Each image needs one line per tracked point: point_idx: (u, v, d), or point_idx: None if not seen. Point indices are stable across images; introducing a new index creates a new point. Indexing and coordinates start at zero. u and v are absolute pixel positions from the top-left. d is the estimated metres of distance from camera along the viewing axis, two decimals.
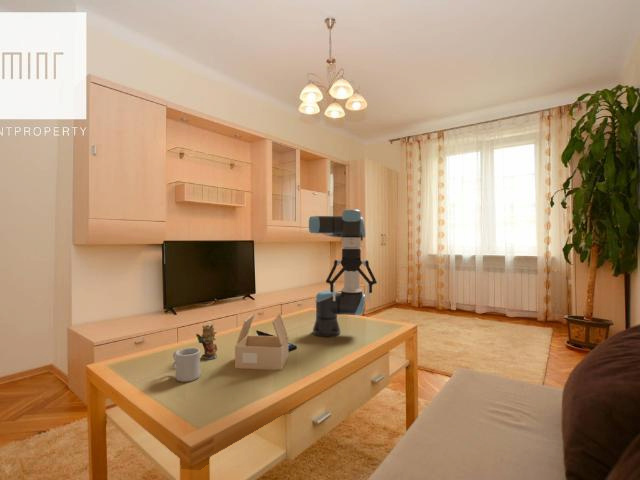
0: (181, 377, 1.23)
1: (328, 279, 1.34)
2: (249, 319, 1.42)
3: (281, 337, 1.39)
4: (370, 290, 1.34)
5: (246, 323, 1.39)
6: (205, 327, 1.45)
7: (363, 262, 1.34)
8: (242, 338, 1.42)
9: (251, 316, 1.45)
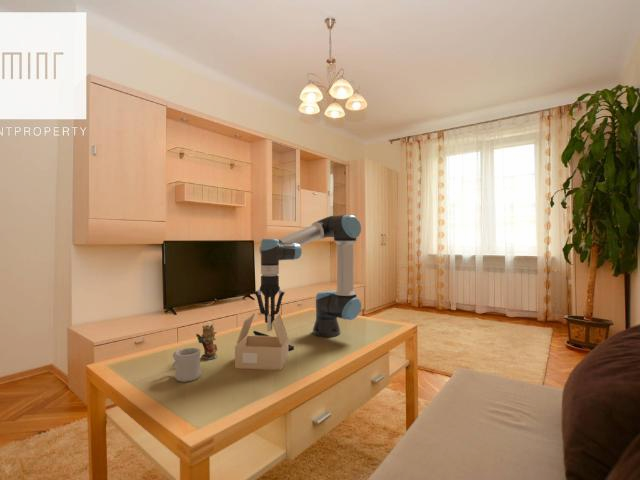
0: (181, 377, 1.23)
1: (261, 310, 1.41)
2: (249, 319, 1.42)
3: (281, 337, 1.39)
4: (272, 320, 1.42)
5: (246, 323, 1.39)
6: (205, 327, 1.45)
7: (280, 291, 1.41)
8: (242, 338, 1.42)
9: (251, 316, 1.45)
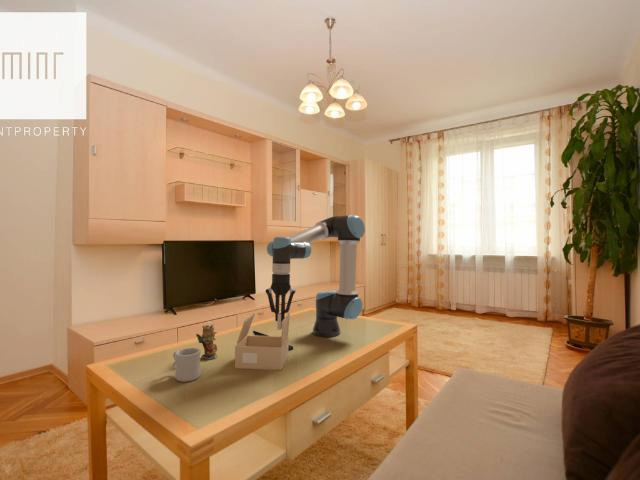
0: (181, 377, 1.23)
1: (272, 308, 1.41)
2: (249, 319, 1.42)
3: (284, 337, 1.39)
4: (282, 318, 1.41)
5: (246, 323, 1.39)
6: (205, 327, 1.45)
7: (291, 290, 1.41)
8: (242, 338, 1.42)
9: (251, 316, 1.45)
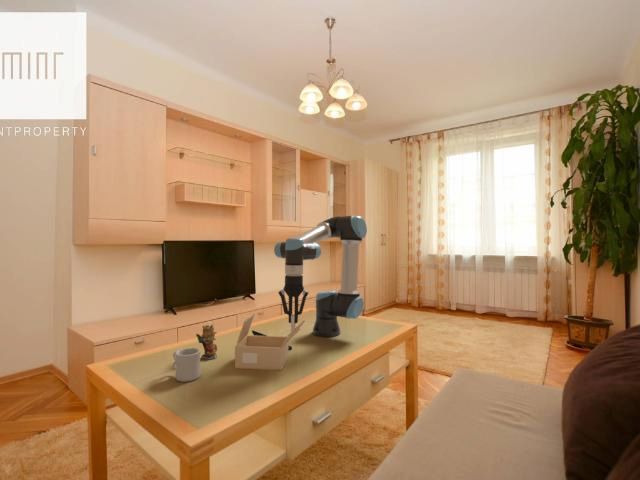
0: (181, 377, 1.23)
1: (285, 310, 1.40)
2: (249, 319, 1.42)
3: None
4: (295, 320, 1.41)
5: (246, 323, 1.39)
6: (205, 327, 1.45)
7: (304, 291, 1.40)
8: (242, 338, 1.42)
9: (251, 316, 1.45)
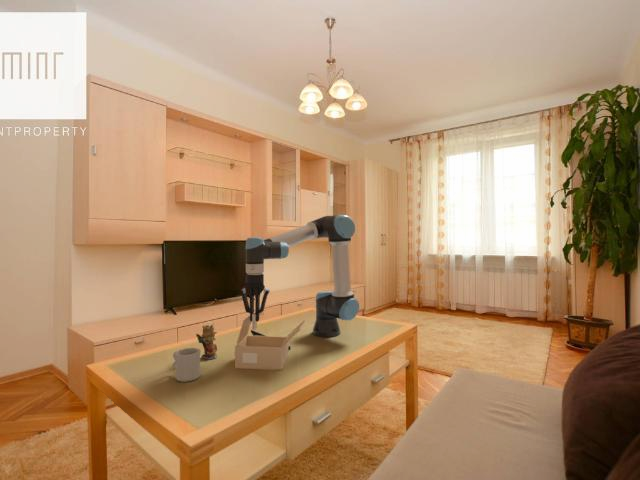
0: (181, 377, 1.23)
1: (246, 308, 1.42)
2: (248, 319, 1.42)
3: None
4: (256, 318, 1.42)
5: (245, 323, 1.39)
6: (205, 327, 1.45)
7: (264, 290, 1.42)
8: (242, 338, 1.42)
9: None
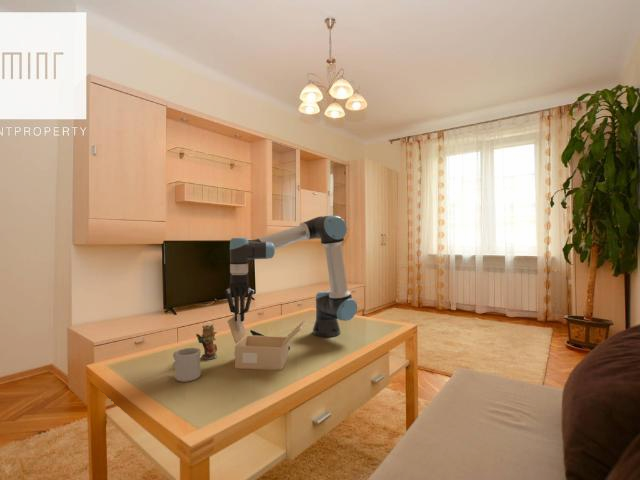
0: (181, 377, 1.23)
1: (231, 308, 1.42)
2: (233, 318, 1.43)
3: None
4: (241, 318, 1.43)
5: (232, 322, 1.40)
6: (205, 327, 1.45)
7: (249, 290, 1.42)
8: (240, 337, 1.42)
9: None
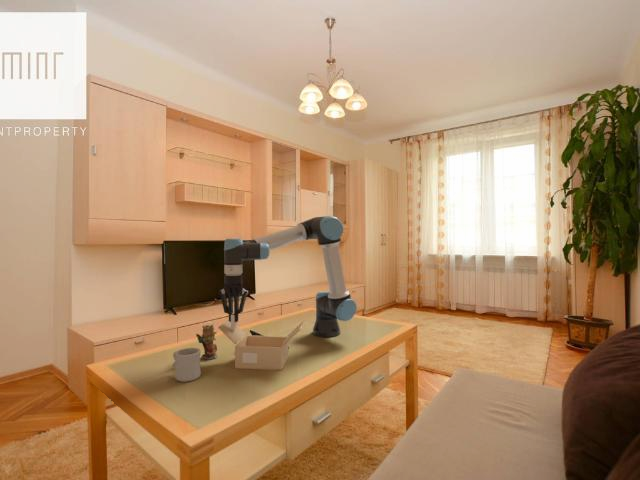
0: (181, 377, 1.23)
1: (225, 309, 1.43)
2: (225, 324, 1.43)
3: None
4: (235, 319, 1.43)
5: (223, 327, 1.40)
6: (205, 327, 1.45)
7: (243, 290, 1.43)
8: (239, 338, 1.43)
9: None
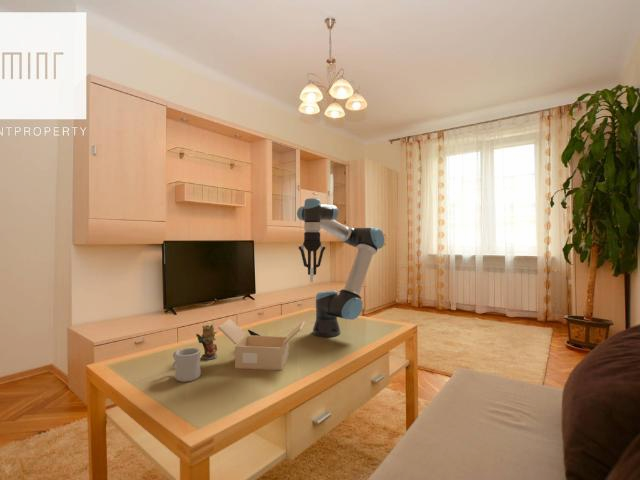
0: (181, 377, 1.23)
1: (304, 263, 1.56)
2: (224, 324, 1.43)
3: None
4: (314, 272, 1.57)
5: (223, 327, 1.40)
6: (205, 327, 1.45)
7: (321, 246, 1.56)
8: (239, 338, 1.43)
9: None
